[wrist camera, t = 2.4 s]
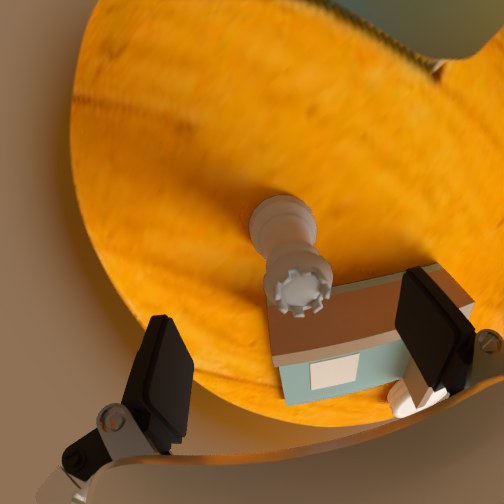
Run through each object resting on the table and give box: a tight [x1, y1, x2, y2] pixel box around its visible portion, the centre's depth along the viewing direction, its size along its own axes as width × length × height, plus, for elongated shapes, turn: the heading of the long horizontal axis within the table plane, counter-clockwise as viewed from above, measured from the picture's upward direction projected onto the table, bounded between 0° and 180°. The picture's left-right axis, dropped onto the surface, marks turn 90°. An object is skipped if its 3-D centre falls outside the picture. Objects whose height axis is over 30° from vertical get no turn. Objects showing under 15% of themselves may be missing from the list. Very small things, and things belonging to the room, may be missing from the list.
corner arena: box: [266, 263, 475, 409], centre depth 22 cm, size 16×16×6 cm
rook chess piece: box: [249, 195, 333, 318], centre depth 15 cm, size 4×4×8 cm
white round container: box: [387, 378, 447, 418], centre depth 28 cm, size 10×10×4 cm
